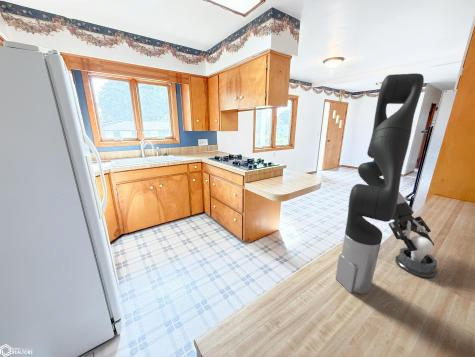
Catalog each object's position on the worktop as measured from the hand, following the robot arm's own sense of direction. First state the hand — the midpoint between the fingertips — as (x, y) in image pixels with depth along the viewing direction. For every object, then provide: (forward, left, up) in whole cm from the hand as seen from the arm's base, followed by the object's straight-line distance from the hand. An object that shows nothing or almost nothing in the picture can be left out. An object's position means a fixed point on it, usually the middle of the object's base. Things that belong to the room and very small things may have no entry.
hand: (422, 248), depth 65 cm
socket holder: (0, +1, -8) cm, 8 cm away
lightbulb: (0, +1, -7) cm, 7 cm away
